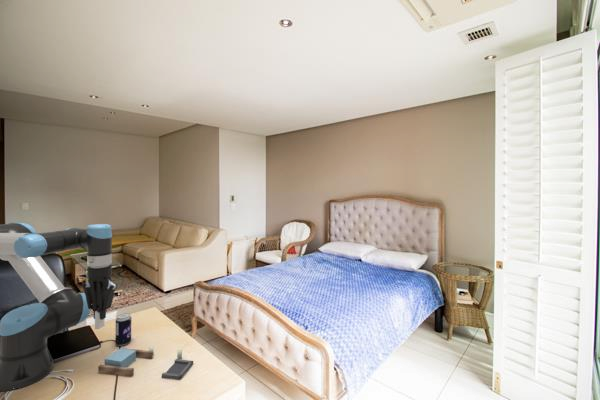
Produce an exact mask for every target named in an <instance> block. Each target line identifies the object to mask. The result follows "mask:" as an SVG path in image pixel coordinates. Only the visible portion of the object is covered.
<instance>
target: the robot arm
mask: <svg viewBox="0 0 600 400" xmlns="http://www.w3.org/2000/svg"><path fill="white" fill-rule="evenodd" d="M112 244H113V232H112V225H110V224H107V223H97V224H96V223H95V224H89V225H87V227H86V228H81V227H80V228H79V227H69V228H66V229H63V230H56V231H48V232H37V231H36V229H35V228H34V227H33V226H32V225H30V224H28V223H25V222H10V223H4V224H0V260H2V261H8V262H9V264H10V265H11V266H12V268H13V269H14V271H16V273H17V274H18V276H19V277H20V278H21V280H22V281H23V282H24V283H25V285H26V286H27V287H28V289H29V290H30V291H31V293H32V295H33V296H34V297H35V298H36V299H37V301H38V302H35V303H31V304H25V305H23V306H20V307H16V308H14V309H12V310H10V311H8V312H6V314H5V315H4V316H2V318H1V319H0V392H6V391H7V392H8V391H12V390H11V389H13V388H18V389H22V388H25V387H27V386H29V385H33V384H34V383H36V382H39V381H40V380H42V379H43V378H45V377H47V376H48V375H49V374H50V373H51V372H52V371H53V369H54V358H53V357H52V355H51V353H50V350H49V349H48V338H50V337H52V336H53V335H54V336H55V335H58V334H59V333H60V332H63V331H66V330H67V329H70V328H73V327H75V326H78V325H79V324H81V323H83V322H84V321H86V319H87V318H88V317H89V316H90V313H91V310H92V312H93V320H94V329H95V330H100V329H101V328H103V327H105V319H106V317H107V316H106V315H107V310H108V309H110V308H112V305H113V300H114V296H115V291H116V289H117V287H118V284H117V283H114V282H112V278H111V276H112V273H113V272H112V271H113V265H112V264H113V250H112V249H113V247H112V246H113V245H112ZM76 249H80V250H84V249H85V250H87V251H86V256H87V258H86V259H87V260H86V261H87V262H86V263H87V268H86V274H87V275H86V276H87V282H84V283H82V284H81V287H82V289H83V290H84V291H83V292H78V293H76V292H75V290H73V288H72V287H65V286H64V285H63V283H62V282H61V280H60V279H59V278H58V277H57V276H56V274H55V272H53V270H52V269H51V268H50V267H49V266H48V264H47V263H46V262H45V261H44V259H43V258H42V256H45V255H49V254H56V253H61V252H66V251H71V250H76Z"/></svg>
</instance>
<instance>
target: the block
mask: <svg viewBox="0 0 600 400" xmlns="http://www.w3.org/2000/svg"><path fill="white" fill-rule="evenodd" d="M122 348H123V347H122ZM122 348H121V347H120V348H119V349H117V350H115V351H114V352H113V353H111V354H109V355H107V357H105V358H104V365H109V366H118V367H127V368H129V366H130V365H132V364H133V363H134V362H135V361H137V358H136V351H135V350H136V349H135V350H128V349H129V348H125V349H122Z"/></svg>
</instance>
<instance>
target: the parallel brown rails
mask: <svg viewBox="0 0 600 400" xmlns="http://www.w3.org/2000/svg"><path fill="white" fill-rule="evenodd" d="M122 349H126V348H124V347H122ZM127 349H128V350H135V351H136V359H146V360H152V359H153V357H154V355H153V351H149V350H143V349H133V348H127ZM97 367H98V370H97V373H98V374H104V375H111V376H121V377H129V378H132V377H133V376H135V375H134V374H135V368H134V367H118V366H109V365H105V364H99V365H98V366H97Z"/></svg>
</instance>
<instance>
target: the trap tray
mask: <svg viewBox="0 0 600 400" xmlns="http://www.w3.org/2000/svg"><path fill="white" fill-rule="evenodd" d="M193 365H194V360H188V359H177V358H176V359H174V362H173V364H172V366H170V367H169V368H168V370H167V371H166V372H163V373H162V374H161V378H162V379H169V380H177V381H178V380H179V381H181V380H182V378H183V377H184V376H185V375H186V374H187V372H188V371H189V370H190V369H191V368H192V367H193Z"/></svg>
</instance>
